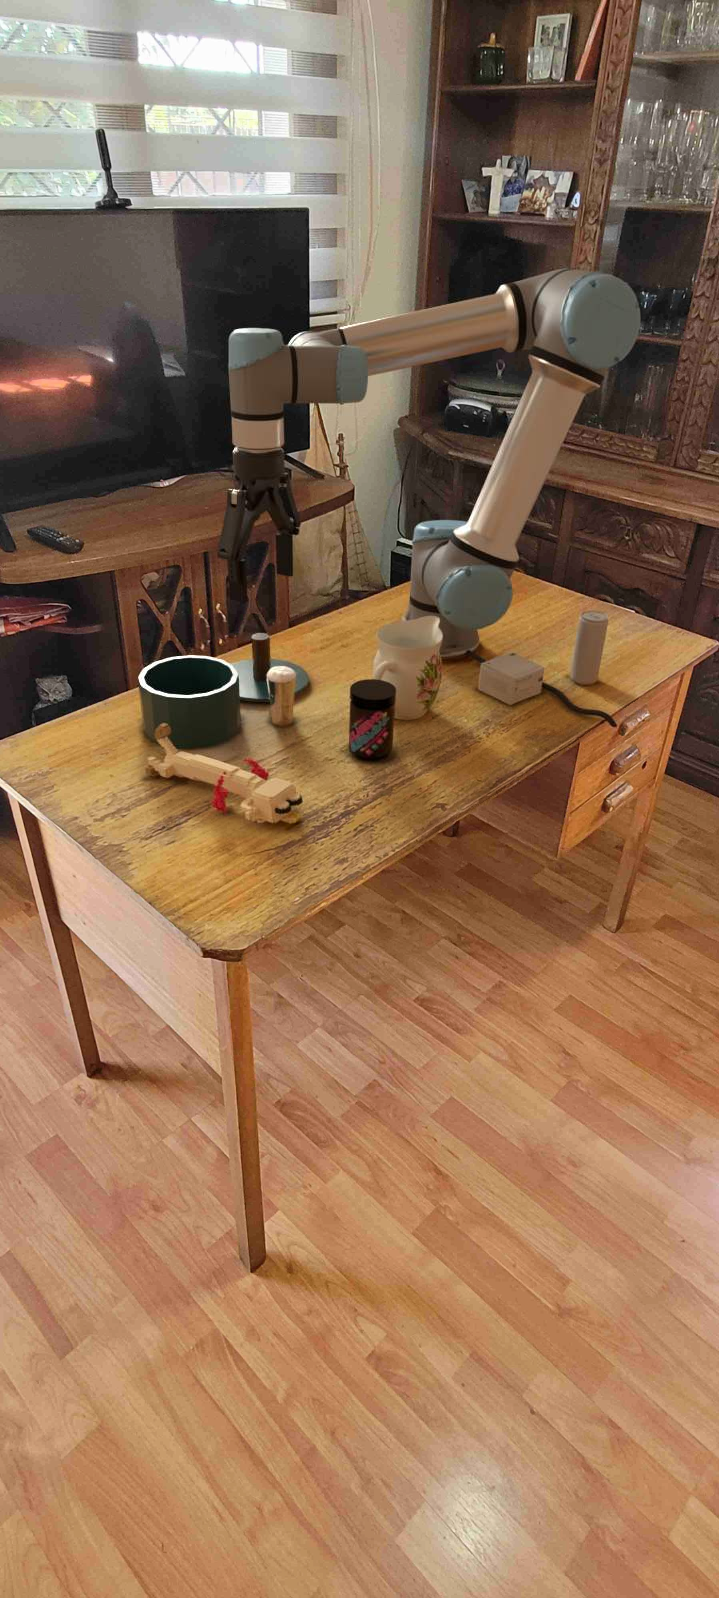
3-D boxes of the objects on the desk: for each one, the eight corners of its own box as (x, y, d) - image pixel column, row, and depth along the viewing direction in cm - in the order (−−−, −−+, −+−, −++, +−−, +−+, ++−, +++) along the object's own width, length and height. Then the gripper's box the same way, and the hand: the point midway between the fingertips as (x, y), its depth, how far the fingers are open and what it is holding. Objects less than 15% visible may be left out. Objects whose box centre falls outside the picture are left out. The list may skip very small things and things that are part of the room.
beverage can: (585, 688, 160) (597, 623, 154) (563, 679, 163) (574, 614, 157) (602, 681, 163) (614, 616, 157) (580, 671, 166) (591, 608, 160)
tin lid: (324, 676, 161) (325, 629, 157) (279, 713, 149) (278, 663, 145) (247, 657, 167) (245, 611, 162) (196, 691, 155) (193, 643, 150)
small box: (510, 706, 154) (514, 678, 151) (476, 689, 159) (479, 661, 156) (541, 694, 158) (546, 666, 155) (507, 677, 163) (511, 650, 160)
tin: (257, 716, 148) (256, 667, 143) (205, 757, 137) (201, 706, 132) (180, 696, 153) (176, 648, 149) (124, 733, 142) (118, 683, 137)
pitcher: (342, 723, 147) (344, 643, 139) (402, 684, 160) (406, 608, 152) (401, 744, 142) (406, 661, 134) (458, 701, 155) (465, 624, 147)
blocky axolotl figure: (137, 791, 131) (276, 840, 118) (127, 735, 126) (270, 780, 114) (186, 762, 138) (322, 806, 125) (178, 708, 133) (318, 748, 121)
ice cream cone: (297, 730, 145) (296, 671, 139) (264, 726, 145) (262, 667, 140) (304, 717, 148) (304, 659, 143) (272, 713, 149) (270, 655, 144)
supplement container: (338, 749, 140) (340, 687, 134) (372, 736, 144) (375, 674, 138) (368, 767, 136) (371, 704, 130) (402, 753, 140) (406, 691, 134)
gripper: (280, 429, 146) (283, 560, 158) (186, 460, 128) (196, 607, 139) (322, 435, 144) (321, 568, 155) (232, 467, 125) (239, 617, 136)
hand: (262, 587), depth 147 cm, fingers open, 13 cm apart
